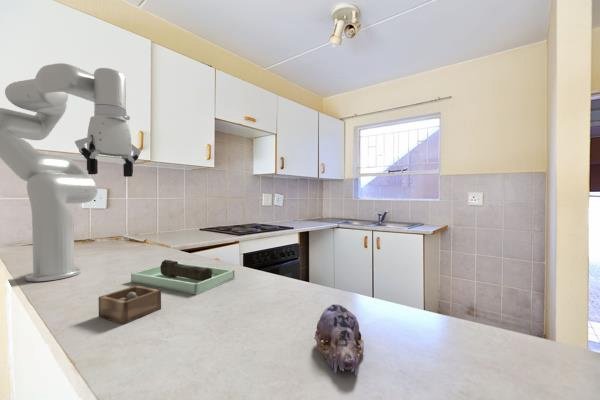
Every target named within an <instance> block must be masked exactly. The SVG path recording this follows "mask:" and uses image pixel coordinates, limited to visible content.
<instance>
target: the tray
mask: <svg viewBox="0 0 600 400" xmlns="http://www.w3.org/2000/svg"><path fill="white" fill-rule="evenodd" d="M178 264H180V265H184V266H191V267H200V268H210V269H212V278H210V279H207V280H204V281H202V282H201V281H197V280H193V279H188V278H184V277H178V276H175V277H168V276H164V275H163V274H161V268H160V266H161V265H158V266H154V267H150V268H147V269H143V270H140V271H135V272H130V282H131V283H133V284H134V283H135V284H138V285H144V286H147V287H148V286H149V287H153V288H159V289H165V290H170V291H176V292H180V293H185V294H186V293H187V294H190V295H199V294H201V293H205V292H207V291H208V290H211V289H213V288H216V287H218V286H221V285H223V284H225V282H226V283H228V282H230V281H232V280H234V279H235V270H234V269H226V268H221V267H219V268H218V267H214V266H213V267H212V266H204V265H199V264H198V265H197V264H191V263H190V264H189V263H183V262H182V263H181V262H178Z"/></svg>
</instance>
